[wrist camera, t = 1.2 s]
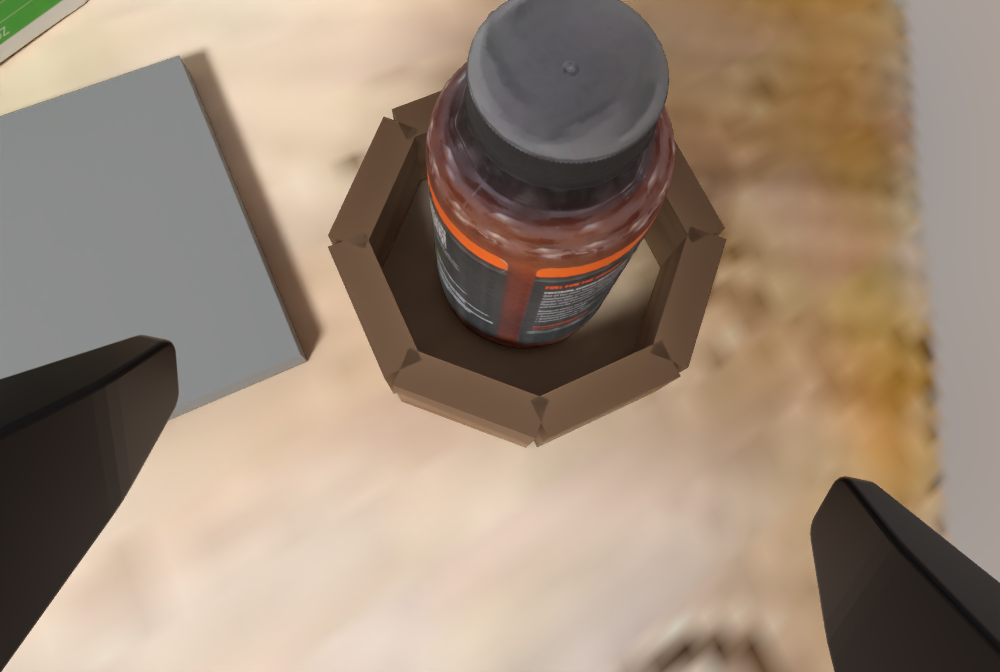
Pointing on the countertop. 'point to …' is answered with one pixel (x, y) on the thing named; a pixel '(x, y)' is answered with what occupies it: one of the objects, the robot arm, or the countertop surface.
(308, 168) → the countertop surface
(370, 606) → the countertop surface
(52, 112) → the pad
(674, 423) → the countertop surface
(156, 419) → the robot arm
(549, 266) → the supplement bottle
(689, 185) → the collar ring
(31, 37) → the skincare box
